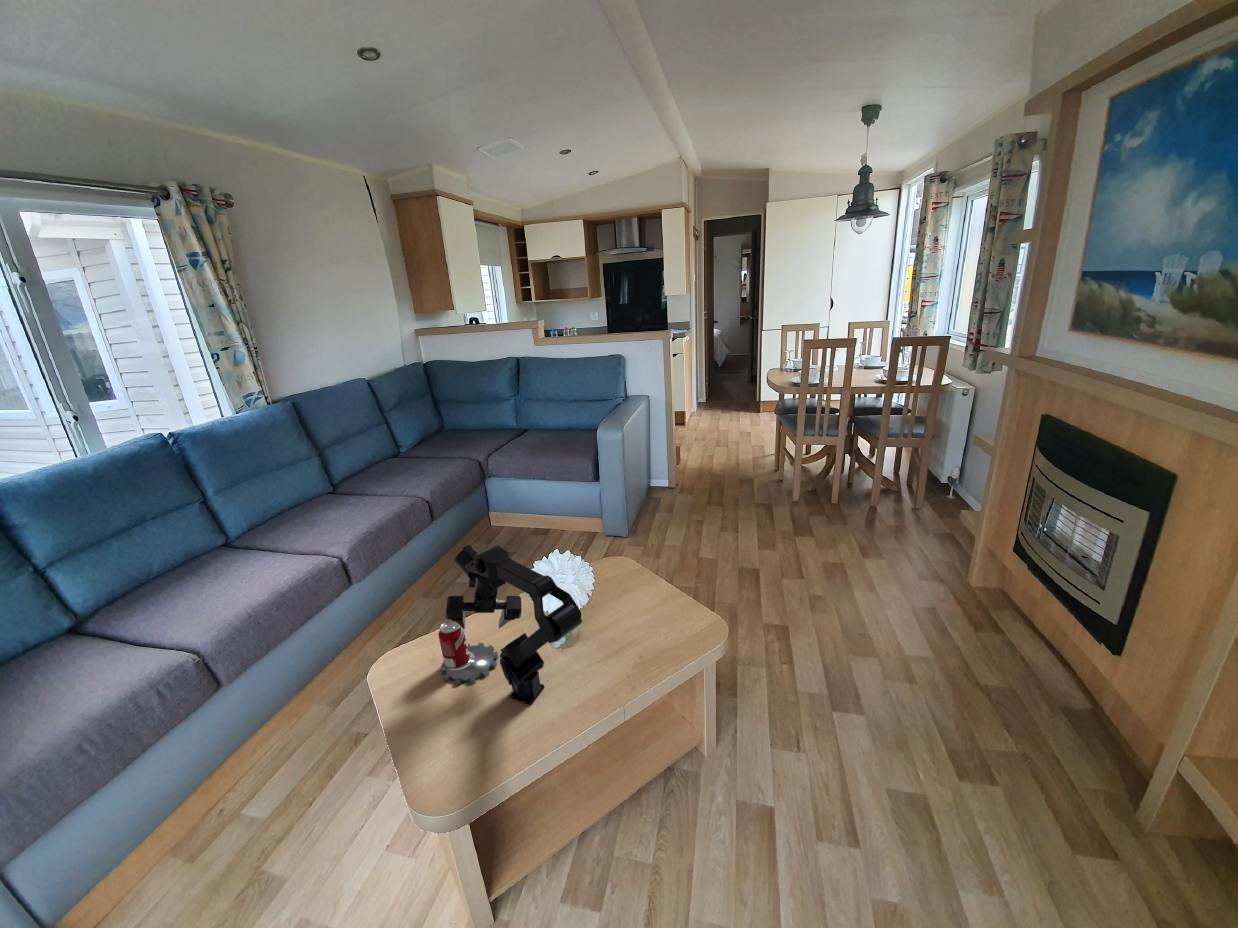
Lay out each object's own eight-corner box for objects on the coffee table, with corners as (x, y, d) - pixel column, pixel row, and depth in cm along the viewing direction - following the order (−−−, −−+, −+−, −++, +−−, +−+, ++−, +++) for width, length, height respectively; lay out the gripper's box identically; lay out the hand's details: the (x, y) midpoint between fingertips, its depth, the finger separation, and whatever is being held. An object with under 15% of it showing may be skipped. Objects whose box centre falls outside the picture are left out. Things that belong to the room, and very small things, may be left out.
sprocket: (508, 653, 140) (508, 649, 139) (474, 691, 127) (473, 687, 126) (467, 641, 146) (466, 637, 145) (429, 676, 133) (429, 672, 132)
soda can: (453, 674, 131) (446, 637, 127) (440, 663, 135) (432, 627, 131) (475, 660, 136) (468, 623, 132) (461, 650, 140) (454, 614, 136)
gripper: (523, 564, 133) (516, 602, 141) (450, 563, 127) (447, 603, 136) (524, 597, 124) (517, 636, 132) (446, 597, 118) (444, 637, 127)
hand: (481, 627), depth 132 cm, fingers open, 9 cm apart
